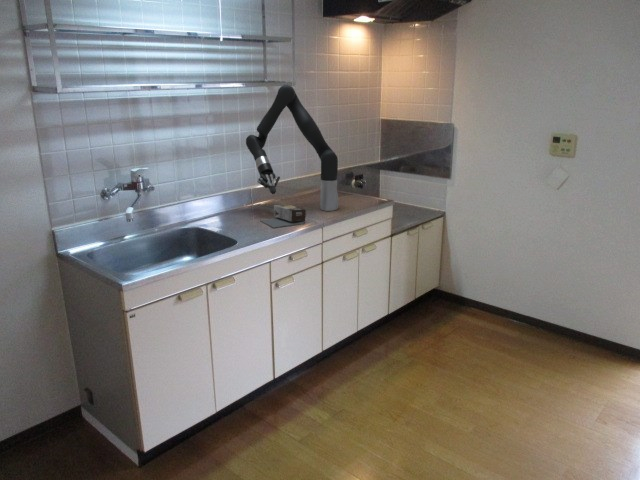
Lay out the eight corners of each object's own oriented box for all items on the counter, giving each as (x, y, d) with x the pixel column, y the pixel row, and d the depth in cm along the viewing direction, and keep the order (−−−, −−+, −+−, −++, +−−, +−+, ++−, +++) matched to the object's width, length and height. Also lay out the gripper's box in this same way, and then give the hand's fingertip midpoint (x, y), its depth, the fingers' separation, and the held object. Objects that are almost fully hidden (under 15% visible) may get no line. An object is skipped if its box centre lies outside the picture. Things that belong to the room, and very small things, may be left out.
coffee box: (287, 203, 284) (306, 209, 272) (286, 215, 285) (305, 221, 274) (273, 204, 278) (292, 210, 266) (273, 216, 279) (292, 222, 268)
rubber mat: (291, 217, 283) (291, 216, 283) (305, 224, 270) (305, 222, 270) (260, 221, 275) (260, 220, 275) (273, 228, 261) (273, 227, 261)
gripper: (254, 163, 277) (264, 190, 270) (277, 161, 283) (287, 187, 277) (250, 171, 283) (260, 198, 276) (273, 169, 289) (283, 195, 283)
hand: (274, 193), depth 277 cm, fingers closed
